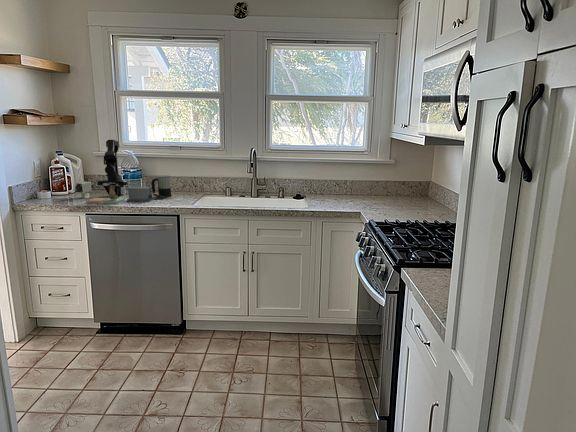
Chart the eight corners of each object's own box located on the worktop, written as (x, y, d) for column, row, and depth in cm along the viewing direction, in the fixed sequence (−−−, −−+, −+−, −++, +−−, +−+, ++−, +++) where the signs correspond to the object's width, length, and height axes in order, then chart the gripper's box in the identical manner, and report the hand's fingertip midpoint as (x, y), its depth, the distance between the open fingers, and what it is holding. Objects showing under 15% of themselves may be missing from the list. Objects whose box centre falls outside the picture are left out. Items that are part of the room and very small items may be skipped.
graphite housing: (132, 198, 302) (131, 186, 300) (154, 199, 301) (153, 186, 299) (127, 200, 295) (126, 188, 293) (149, 201, 293) (148, 188, 291)
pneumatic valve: (94, 196, 309) (93, 180, 306) (80, 199, 299) (79, 182, 296) (89, 196, 311) (87, 179, 309) (75, 198, 301) (73, 182, 298)
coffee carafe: (170, 194, 319) (169, 175, 316) (174, 198, 305) (173, 177, 302) (150, 196, 313) (149, 176, 310) (154, 199, 299) (152, 178, 296)
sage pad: (110, 200, 296) (110, 198, 296) (124, 200, 295) (124, 198, 295) (103, 203, 286) (103, 201, 286) (117, 203, 285) (117, 201, 285)
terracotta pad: (94, 200, 297) (94, 197, 297) (108, 200, 296) (107, 198, 296) (86, 202, 287) (86, 200, 287) (100, 203, 286) (100, 200, 286)
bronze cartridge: (112, 197, 293) (111, 186, 291) (119, 197, 292) (118, 186, 290) (108, 199, 288) (107, 187, 286) (115, 199, 287) (114, 187, 286)
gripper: (130, 171, 293) (132, 193, 296) (104, 170, 295) (106, 193, 298) (122, 173, 282) (124, 196, 286) (95, 172, 284) (98, 195, 288)
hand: (113, 195), depth 290 cm, fingers closed on bronze cartridge, 5 cm apart
